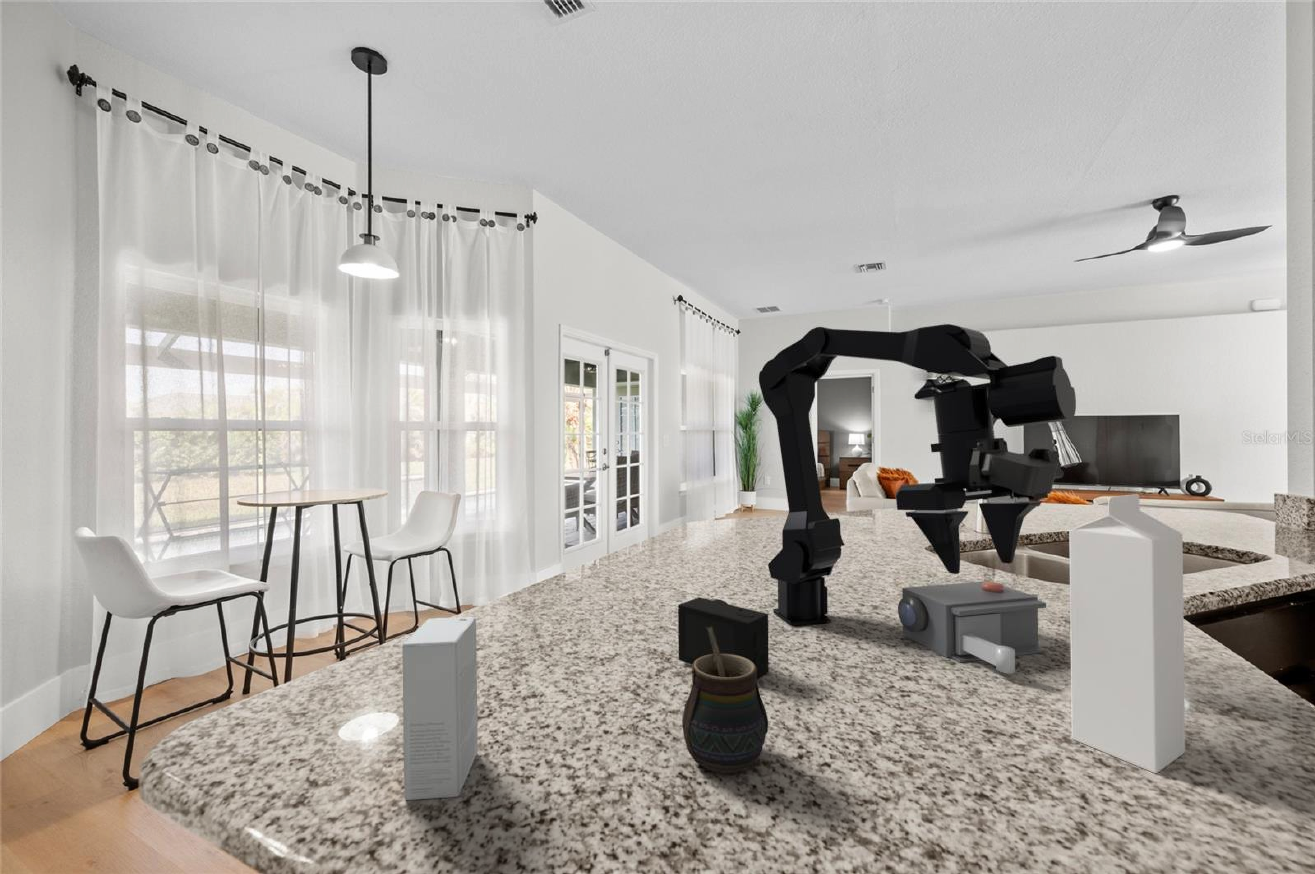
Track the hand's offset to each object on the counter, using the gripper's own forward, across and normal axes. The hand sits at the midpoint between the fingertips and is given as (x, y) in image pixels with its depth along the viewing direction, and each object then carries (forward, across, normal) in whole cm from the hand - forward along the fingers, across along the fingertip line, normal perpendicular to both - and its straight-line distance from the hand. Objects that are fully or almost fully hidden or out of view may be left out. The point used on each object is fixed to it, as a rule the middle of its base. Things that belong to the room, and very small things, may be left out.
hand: (981, 568), depth 62 cm
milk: (+14, -2, -13) cm, 19 cm away
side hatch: (+12, +4, +2) cm, 12 cm away
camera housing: (+12, +7, +8) cm, 16 cm away
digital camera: (+10, -25, +16) cm, 32 cm away
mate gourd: (+12, -35, 0) cm, 37 cm away
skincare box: (+10, -57, +8) cm, 59 cm away
